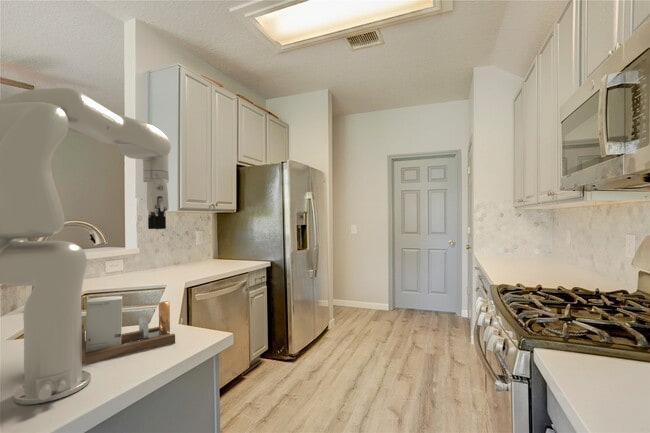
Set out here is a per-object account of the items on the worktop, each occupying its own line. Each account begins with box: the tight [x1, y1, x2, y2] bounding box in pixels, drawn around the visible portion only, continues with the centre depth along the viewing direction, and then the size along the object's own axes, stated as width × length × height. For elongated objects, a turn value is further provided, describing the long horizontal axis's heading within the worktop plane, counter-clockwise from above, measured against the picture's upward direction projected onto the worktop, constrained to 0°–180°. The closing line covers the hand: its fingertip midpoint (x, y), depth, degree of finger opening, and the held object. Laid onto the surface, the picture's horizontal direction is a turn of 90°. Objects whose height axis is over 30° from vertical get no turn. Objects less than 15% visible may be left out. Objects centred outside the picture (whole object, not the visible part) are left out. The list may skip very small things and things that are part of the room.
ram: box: [138, 300, 171, 341], centre depth 97 cm, size 7×8×11 cm
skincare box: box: [85, 295, 123, 353], centre depth 90 cm, size 8×6×15 cm
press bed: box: [82, 321, 176, 366], centre depth 92 cm, size 12×24×8 cm, turn 129°
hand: (156, 228), depth 108 cm, fingers open, 9 cm apart
